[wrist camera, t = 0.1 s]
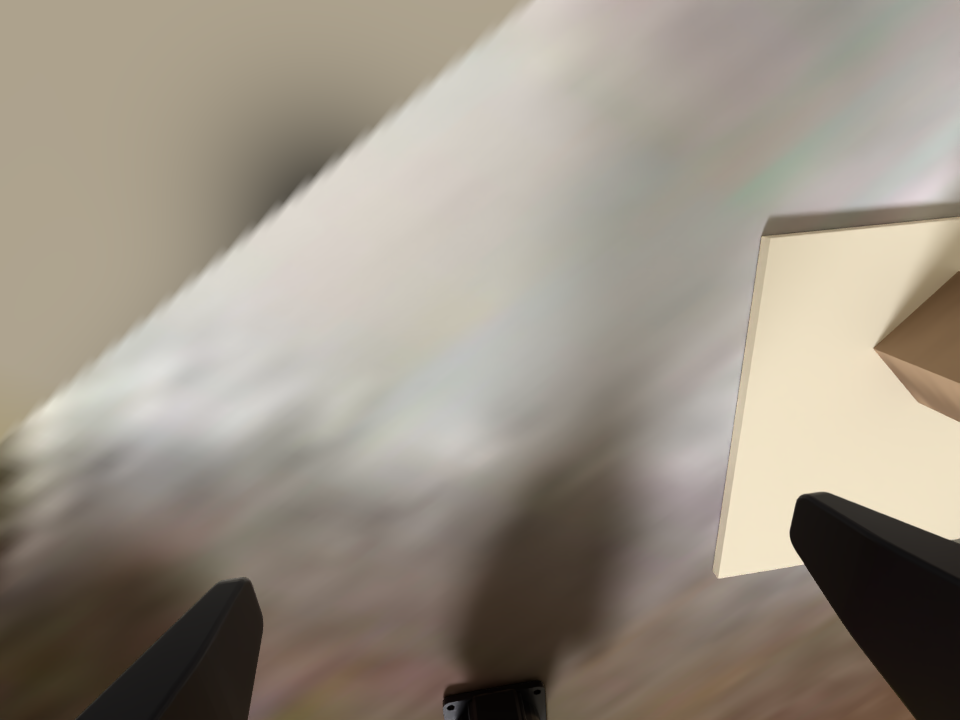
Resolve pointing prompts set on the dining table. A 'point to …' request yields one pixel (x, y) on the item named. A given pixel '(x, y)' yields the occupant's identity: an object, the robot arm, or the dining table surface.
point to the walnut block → (929, 351)
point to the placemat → (836, 390)
